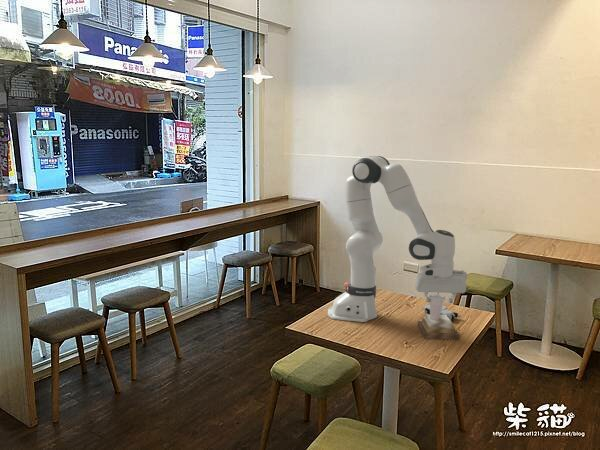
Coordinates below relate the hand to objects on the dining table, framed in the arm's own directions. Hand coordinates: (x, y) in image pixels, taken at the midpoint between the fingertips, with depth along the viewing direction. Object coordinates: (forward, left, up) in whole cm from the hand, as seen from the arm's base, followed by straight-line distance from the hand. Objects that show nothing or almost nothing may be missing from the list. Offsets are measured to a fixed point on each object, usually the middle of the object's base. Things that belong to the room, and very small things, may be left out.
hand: (439, 302), depth 205 cm
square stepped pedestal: (0, 0, -13) cm, 13 cm away
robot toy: (+6, +18, -14) cm, 23 cm away
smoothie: (-1, 0, -7) cm, 7 cm away
